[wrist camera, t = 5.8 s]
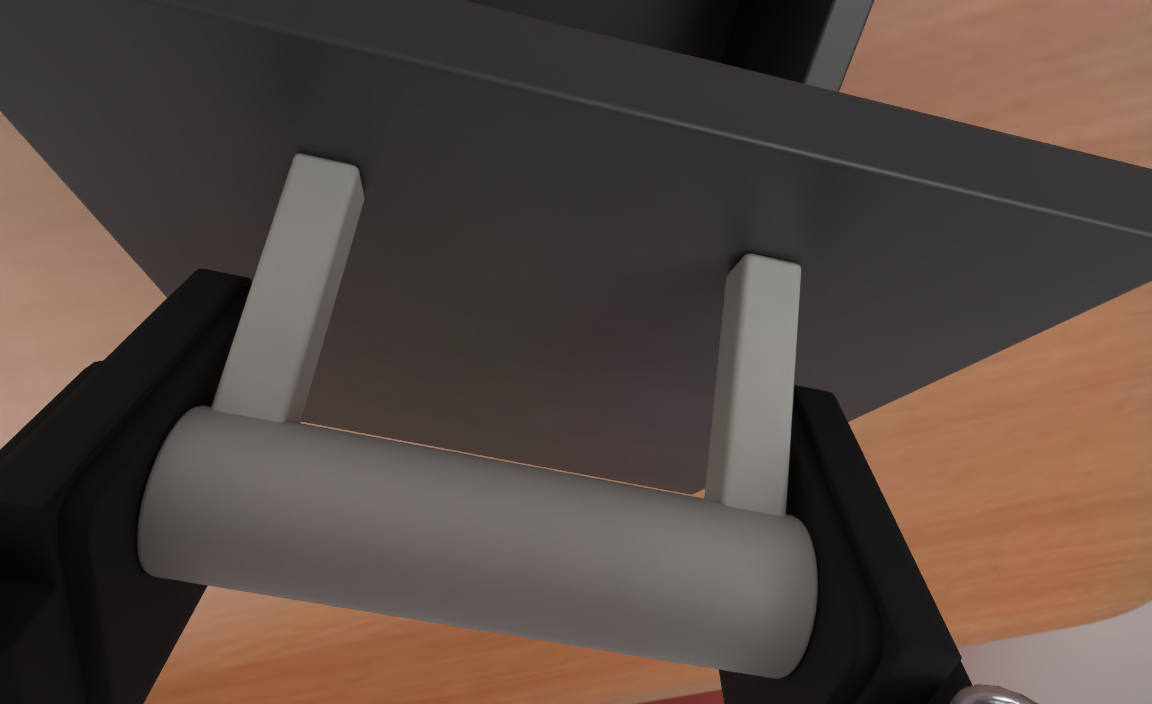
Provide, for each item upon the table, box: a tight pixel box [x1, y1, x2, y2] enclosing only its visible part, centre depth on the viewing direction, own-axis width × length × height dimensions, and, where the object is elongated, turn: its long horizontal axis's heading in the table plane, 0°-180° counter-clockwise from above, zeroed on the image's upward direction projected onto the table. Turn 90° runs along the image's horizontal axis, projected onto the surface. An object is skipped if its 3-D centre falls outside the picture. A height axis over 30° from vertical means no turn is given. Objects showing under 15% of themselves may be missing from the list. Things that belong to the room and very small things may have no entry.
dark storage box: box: [466, 0, 874, 92], centre depth 24 cm, size 16×12×11 cm
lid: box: [0, 0, 1152, 679], centre depth 14 cm, size 17×12×5 cm
